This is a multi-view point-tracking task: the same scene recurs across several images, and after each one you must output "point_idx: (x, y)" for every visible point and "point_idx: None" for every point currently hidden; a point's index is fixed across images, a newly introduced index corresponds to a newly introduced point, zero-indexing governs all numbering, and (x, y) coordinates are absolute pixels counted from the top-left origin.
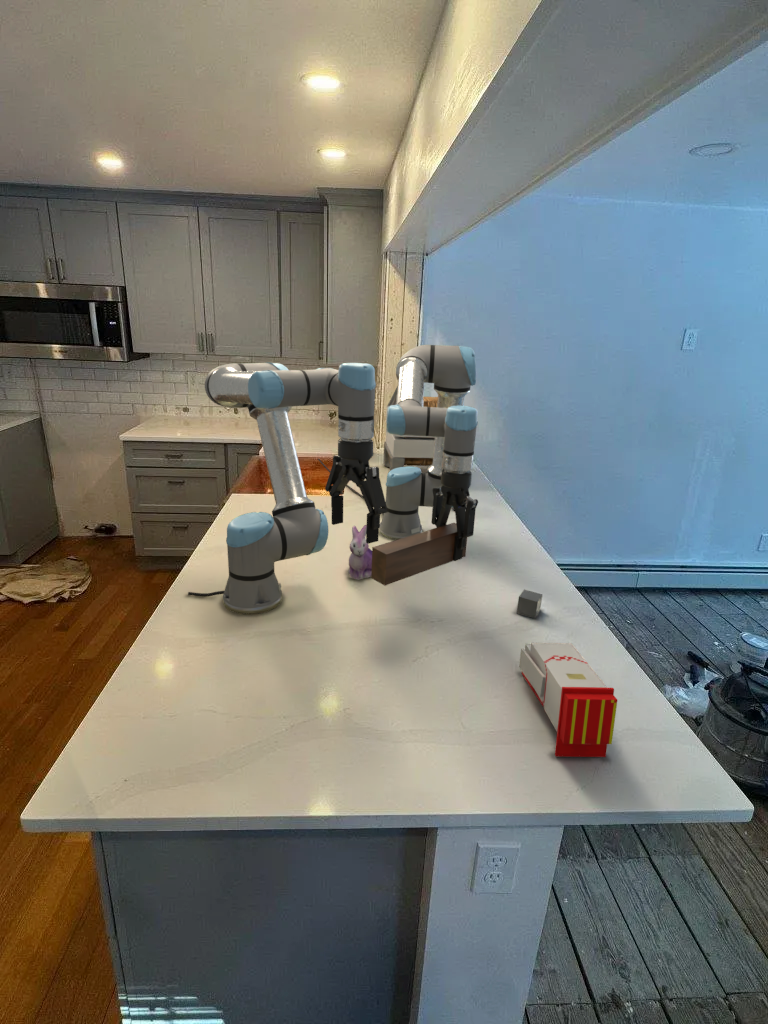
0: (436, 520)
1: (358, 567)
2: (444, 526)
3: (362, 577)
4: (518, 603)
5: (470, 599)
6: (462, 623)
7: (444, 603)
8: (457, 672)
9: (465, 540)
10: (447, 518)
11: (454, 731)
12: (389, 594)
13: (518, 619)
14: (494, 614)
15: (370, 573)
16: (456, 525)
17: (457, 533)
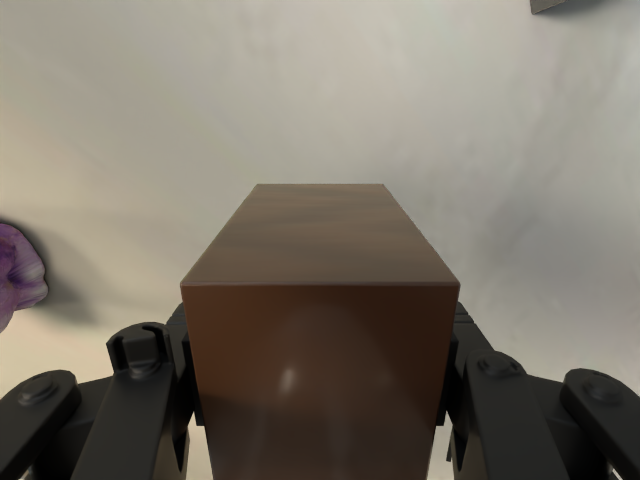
0: (67, 469)
1: (10, 319)
2: (232, 450)
3: (43, 287)
4: (562, 1)
5: (348, 80)
6: (428, 227)
7: (311, 182)
8: (539, 377)
9: (487, 345)
10: (157, 477)
11: (614, 472)
12: (173, 277)
13: (555, 49)
14: (472, 96)
15: (27, 255)
16: (287, 335)
17: (452, 460)
